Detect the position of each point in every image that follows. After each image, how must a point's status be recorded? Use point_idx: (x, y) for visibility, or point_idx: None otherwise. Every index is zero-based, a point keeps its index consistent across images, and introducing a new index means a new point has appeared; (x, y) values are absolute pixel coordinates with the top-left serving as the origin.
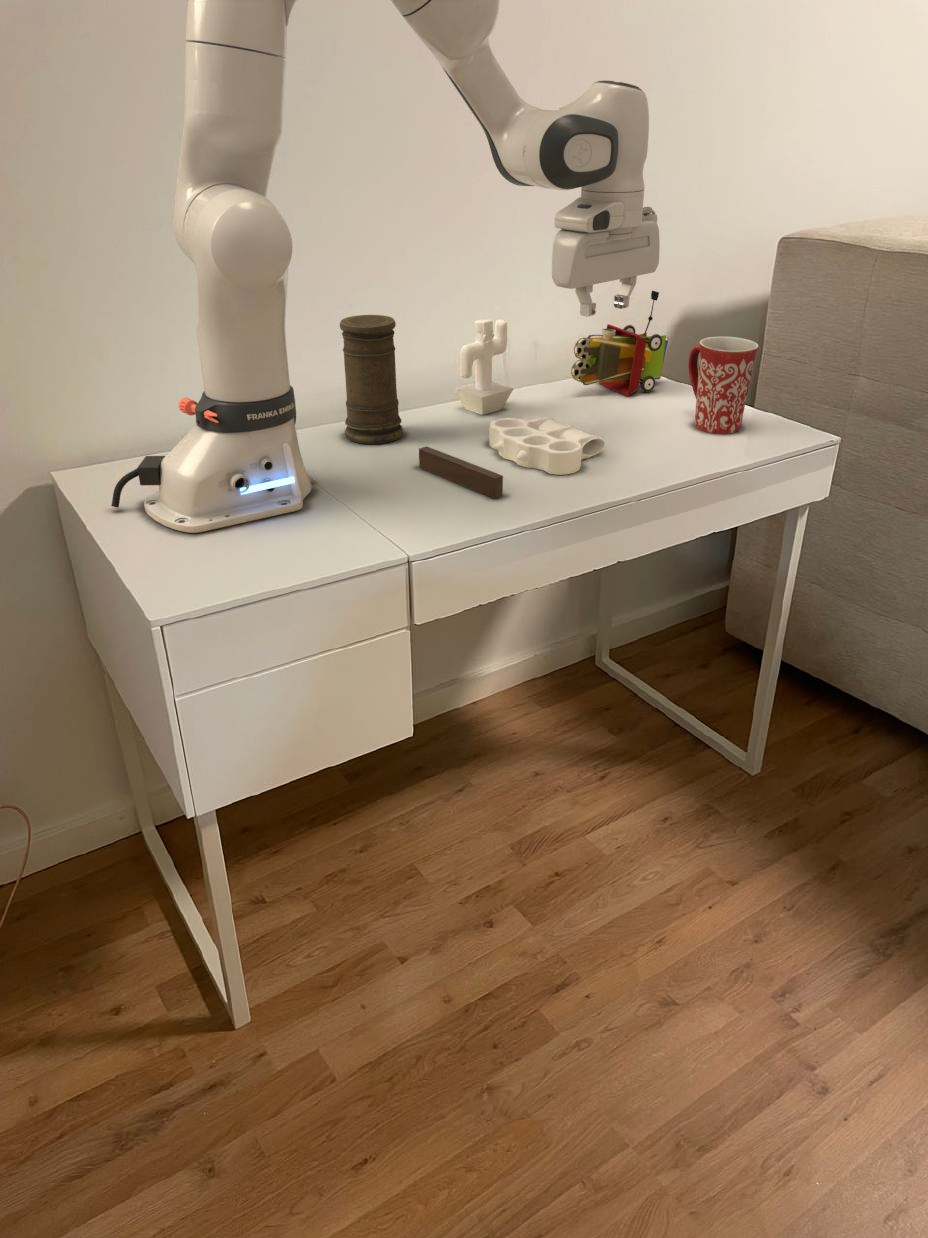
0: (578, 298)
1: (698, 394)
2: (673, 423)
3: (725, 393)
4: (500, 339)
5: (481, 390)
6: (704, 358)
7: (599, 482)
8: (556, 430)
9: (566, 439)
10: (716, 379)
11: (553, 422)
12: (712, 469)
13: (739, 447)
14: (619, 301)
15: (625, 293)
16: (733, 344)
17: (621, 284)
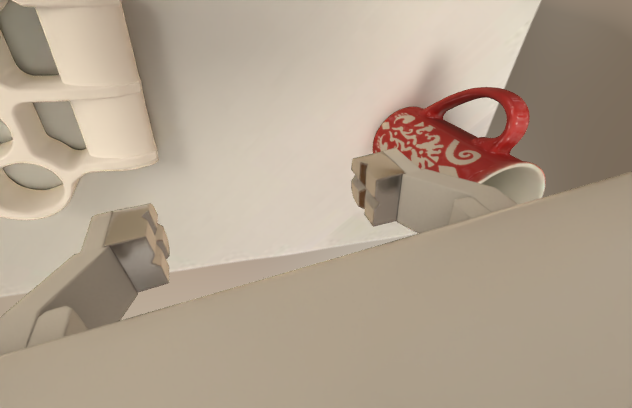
0: (48, 279)
1: (405, 151)
2: (374, 88)
3: None
4: None
5: None
6: None
7: (81, 237)
8: (53, 101)
9: (77, 120)
10: None
11: (80, 36)
12: (266, 250)
13: (353, 210)
14: (365, 194)
15: (407, 214)
16: (527, 181)
17: (453, 192)
